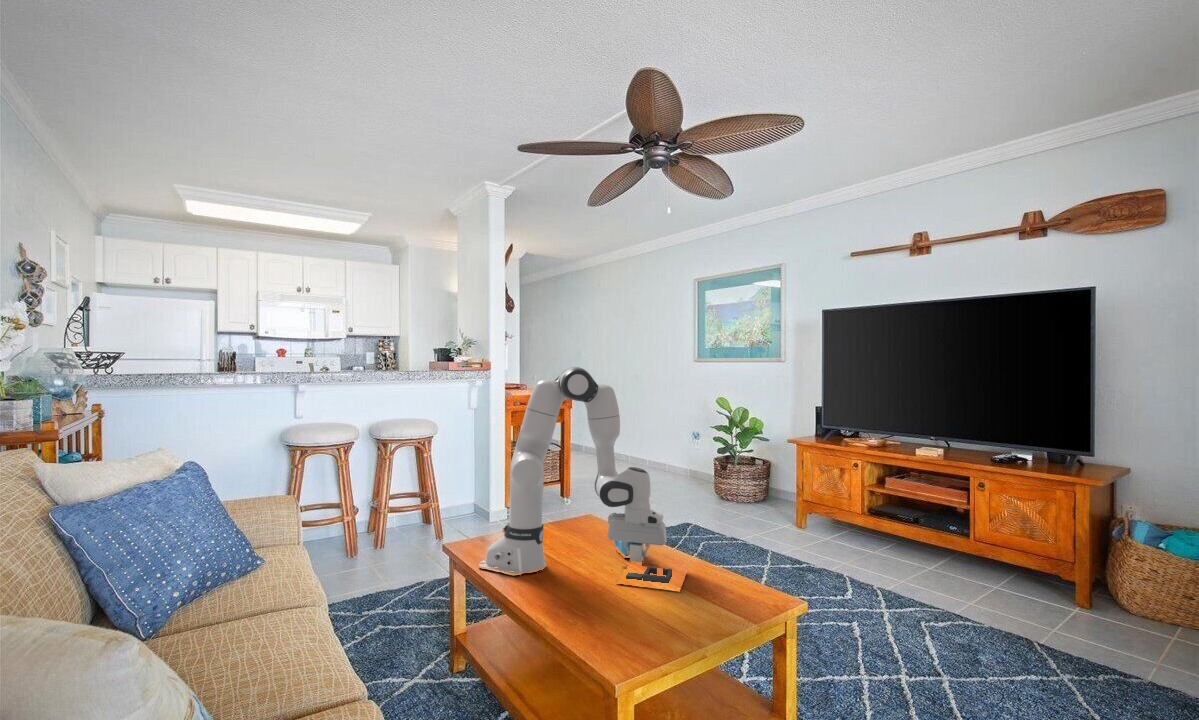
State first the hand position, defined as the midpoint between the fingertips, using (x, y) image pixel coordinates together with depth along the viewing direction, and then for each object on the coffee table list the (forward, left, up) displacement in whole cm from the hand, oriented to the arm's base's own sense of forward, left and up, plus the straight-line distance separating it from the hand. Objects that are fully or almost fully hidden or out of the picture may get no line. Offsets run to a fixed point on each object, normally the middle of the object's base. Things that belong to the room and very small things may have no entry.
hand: (636, 555), depth 199 cm
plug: (0, 0, -3) cm, 3 cm away
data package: (-6, +9, -3) cm, 11 cm away
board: (+8, -12, -3) cm, 15 cm away
